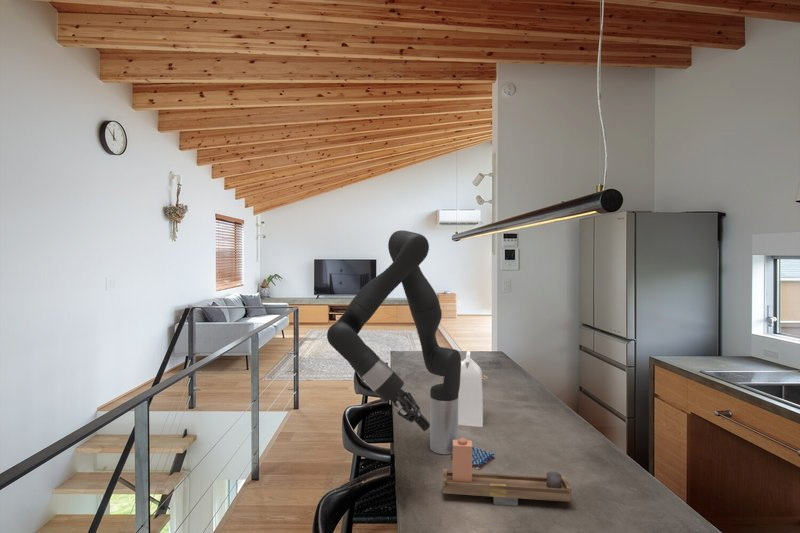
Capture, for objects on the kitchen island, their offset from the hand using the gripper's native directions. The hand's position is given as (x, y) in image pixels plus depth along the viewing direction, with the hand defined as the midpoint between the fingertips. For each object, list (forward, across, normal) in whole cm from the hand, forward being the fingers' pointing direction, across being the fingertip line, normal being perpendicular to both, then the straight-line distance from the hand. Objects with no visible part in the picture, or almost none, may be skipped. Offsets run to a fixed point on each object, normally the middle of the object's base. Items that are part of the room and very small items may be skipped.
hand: (427, 427), depth 113 cm
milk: (+22, +53, +3) cm, 58 cm away
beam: (+27, 0, -2) cm, 27 cm away
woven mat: (+22, +21, +4) cm, 31 cm away
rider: (+16, 0, +3) cm, 16 cm away
